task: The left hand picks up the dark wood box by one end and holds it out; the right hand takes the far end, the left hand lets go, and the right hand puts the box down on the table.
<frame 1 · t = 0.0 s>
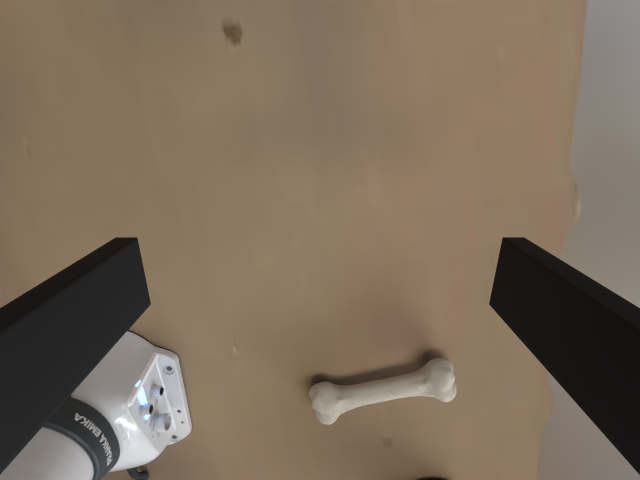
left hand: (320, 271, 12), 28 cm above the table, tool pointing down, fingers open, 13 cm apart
dog toy: (379, 377, 49), on the table
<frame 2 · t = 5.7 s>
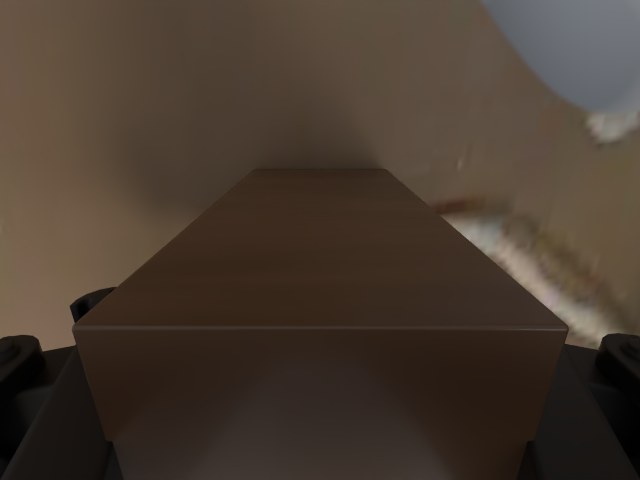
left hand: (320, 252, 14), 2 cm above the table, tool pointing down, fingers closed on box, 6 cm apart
box: (320, 392, 20), on the table, touching left hand
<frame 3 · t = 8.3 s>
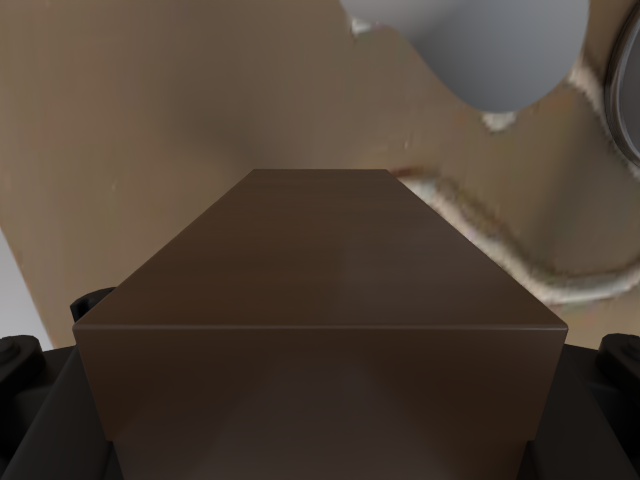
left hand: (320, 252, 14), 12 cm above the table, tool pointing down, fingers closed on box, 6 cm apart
box: (320, 392, 20), point 10 cm above the table, touching left hand
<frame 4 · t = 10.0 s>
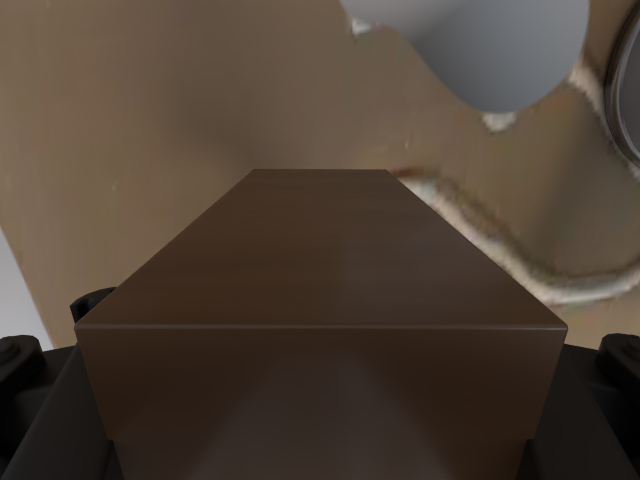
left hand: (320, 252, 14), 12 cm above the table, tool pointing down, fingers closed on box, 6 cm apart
box: (319, 391, 20), point 10 cm above the table, touching left hand, right hand
when the left hand's fingers open (12 cm above the table, at t = 11.1 s): box stays where it is, held by the right hand.
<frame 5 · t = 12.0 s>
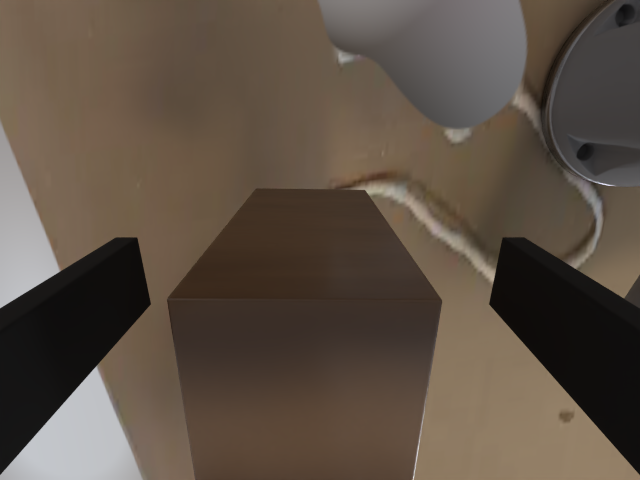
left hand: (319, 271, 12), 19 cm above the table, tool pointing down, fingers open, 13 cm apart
box: (309, 377, 23), point 12 cm above the table, touching right hand
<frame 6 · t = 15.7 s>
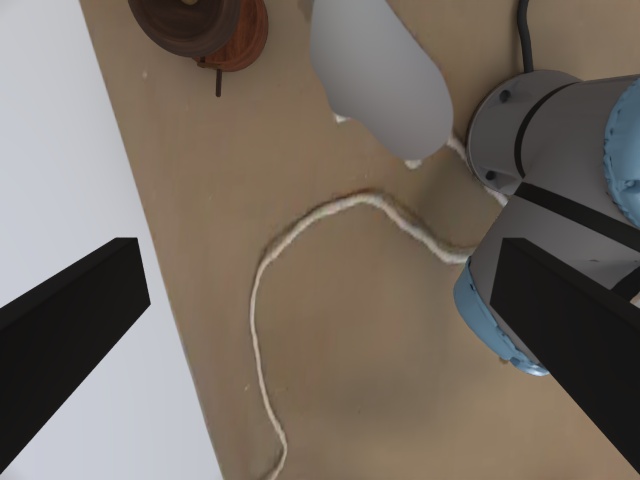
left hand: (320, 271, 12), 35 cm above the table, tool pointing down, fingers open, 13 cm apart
music box: (224, 30, 40), on the table
when the right hand's fingers open (8 cm above the table, at t = 21.3 s): box stays where it is, on the table.
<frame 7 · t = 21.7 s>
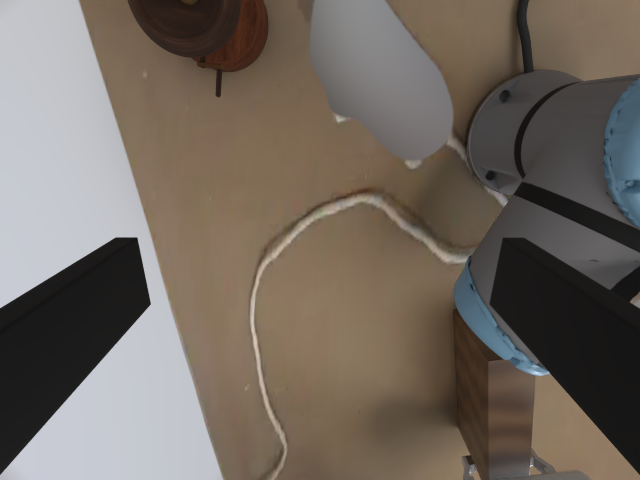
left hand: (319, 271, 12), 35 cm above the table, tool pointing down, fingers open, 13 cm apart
box: (473, 371, 58), on the table
music box: (224, 30, 40), on the table
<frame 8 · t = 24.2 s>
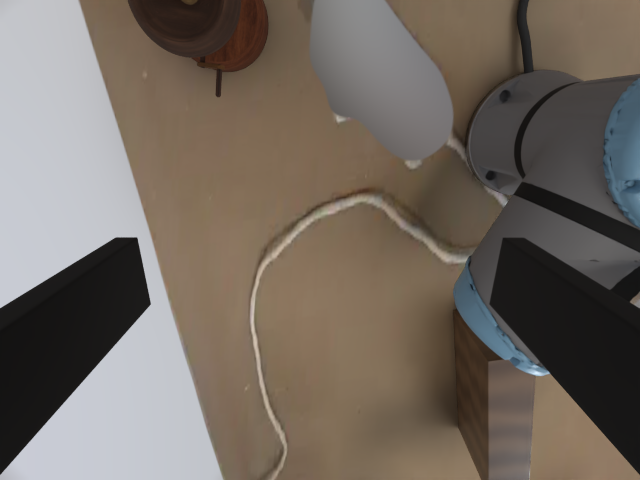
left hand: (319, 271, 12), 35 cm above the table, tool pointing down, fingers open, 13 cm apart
box: (473, 371, 58), on the table
music box: (224, 30, 40), on the table
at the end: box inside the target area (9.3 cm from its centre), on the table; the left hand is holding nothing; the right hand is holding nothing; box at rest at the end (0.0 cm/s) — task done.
